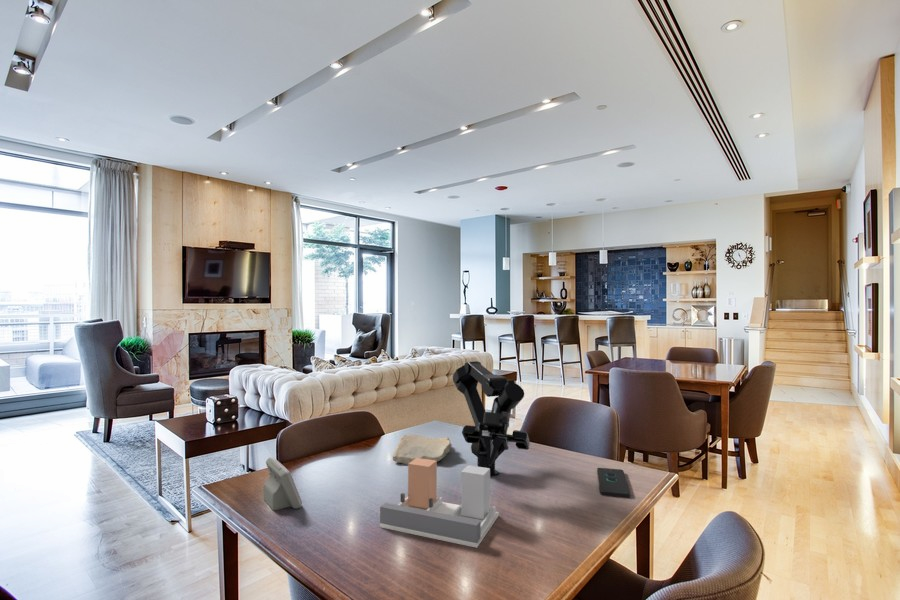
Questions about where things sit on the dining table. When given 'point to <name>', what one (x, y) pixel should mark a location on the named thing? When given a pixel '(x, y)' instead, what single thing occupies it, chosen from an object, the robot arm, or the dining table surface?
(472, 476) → the tall white block
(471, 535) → the base
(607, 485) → the smart home device
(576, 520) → the dining table surface
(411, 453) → the beige rock
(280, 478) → the digital clock
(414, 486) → the tall tan brick
